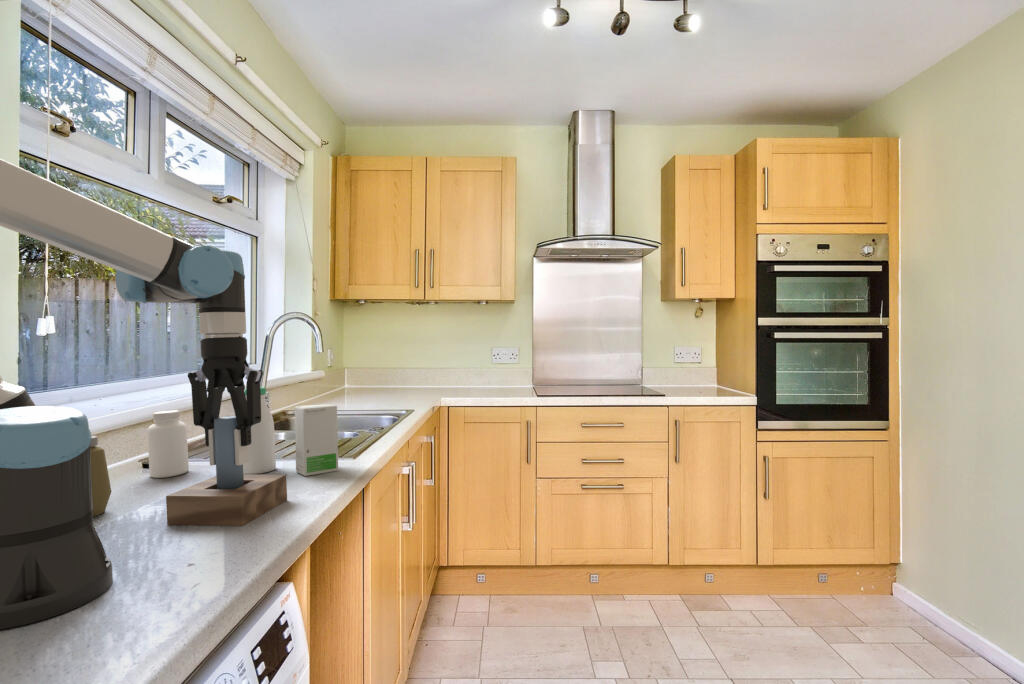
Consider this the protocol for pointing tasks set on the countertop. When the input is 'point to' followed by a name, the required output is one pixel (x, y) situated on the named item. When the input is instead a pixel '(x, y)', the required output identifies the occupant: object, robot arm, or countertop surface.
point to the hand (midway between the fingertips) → (229, 463)
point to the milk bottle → (261, 442)
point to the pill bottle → (167, 445)
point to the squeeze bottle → (99, 478)
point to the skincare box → (316, 439)
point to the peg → (226, 454)
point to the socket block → (226, 501)
